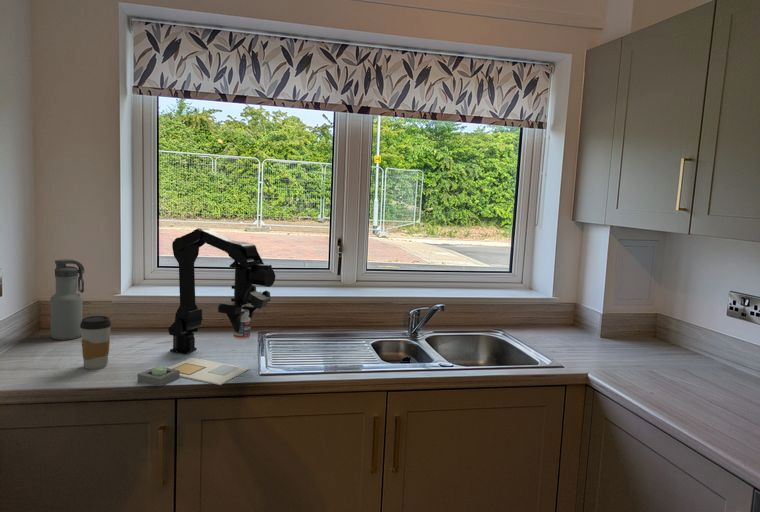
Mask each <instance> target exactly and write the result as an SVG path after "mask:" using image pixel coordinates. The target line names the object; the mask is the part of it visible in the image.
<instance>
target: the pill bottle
mask: <svg viewBox="0 0 760 512" xmlns="http://www.w3.org/2000/svg"><path fill="white" fill-rule="evenodd" d="M242 312H245V313H244V314H243V315H242V316H241V320H240V328H239V332H235V330H234V329H233V335H232V336H233V338H234V339H235V340H248V339H250V337H251V326H252V325H251V322H252V319H251V318H250V317H248V316H249V310H245V309H242Z"/></svg>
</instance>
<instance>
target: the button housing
mask: <svg viewBox="0 0 760 512" xmlns="http://www.w3.org/2000/svg"><path fill="white" fill-rule="evenodd" d="M156 367H159V365H157V366H156ZM166 368H167V372H166V374H164V375H162V376H155V375H152V368H150V369H147V370H144V371H142V372H140V373H138V374H137V382H139V383H143V384H146V385H147V384H148V385H152V386H156V387H162V386H164V385H167V384H168V383H171V382H173V381H175V380H177V379H180V378H181V377H180V370H175V369H170V368H168V367H166Z"/></svg>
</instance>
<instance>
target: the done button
mask: <svg viewBox="0 0 760 512" xmlns="http://www.w3.org/2000/svg"><path fill="white" fill-rule="evenodd" d="M158 366H159V365H158ZM167 368H168V367H166V366H162V365H161V366H159V367H157V366H154V367H152V368H151V369H152V375H155V376H162V375H164V374H166V372H167Z"/></svg>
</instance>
